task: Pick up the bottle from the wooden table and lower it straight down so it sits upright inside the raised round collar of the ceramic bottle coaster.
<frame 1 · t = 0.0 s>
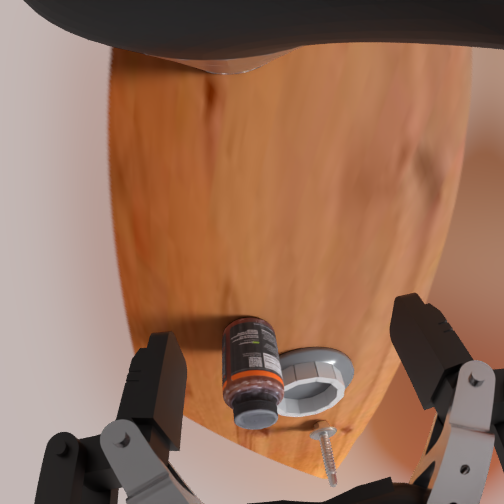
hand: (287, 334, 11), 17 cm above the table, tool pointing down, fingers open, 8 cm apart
supplement bottle: (248, 332, 35), on the table
screw: (321, 422, 49), on the table
bottle coaster: (303, 379, 40), on the table
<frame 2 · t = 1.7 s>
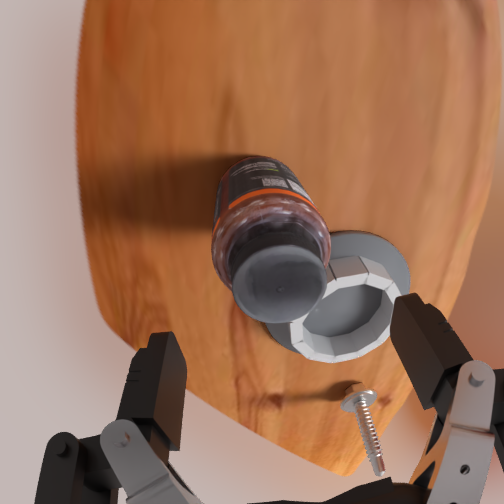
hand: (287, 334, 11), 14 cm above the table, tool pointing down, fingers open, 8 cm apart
supplement bottle: (258, 192, 23), on the table
screw: (354, 387, 36), on the table
bottle coaster: (339, 299, 28), on the table
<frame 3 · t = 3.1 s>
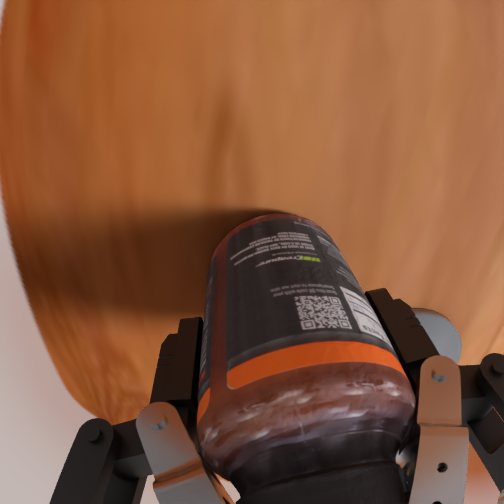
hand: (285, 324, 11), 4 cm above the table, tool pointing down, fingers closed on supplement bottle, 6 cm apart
supplement bottle: (274, 266, 14), on the table, touching gripper
bottle coaster: (372, 383, 20), on the table
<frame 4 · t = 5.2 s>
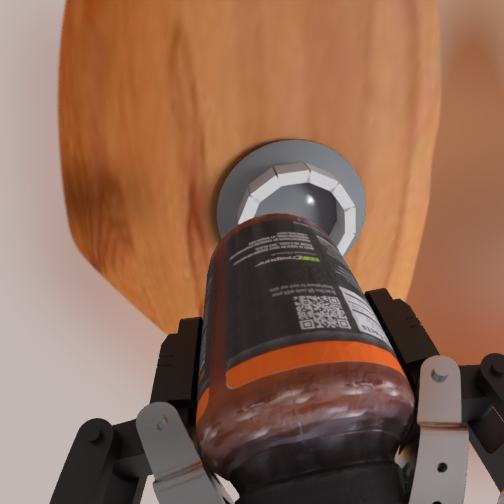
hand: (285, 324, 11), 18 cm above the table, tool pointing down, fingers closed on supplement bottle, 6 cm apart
supplement bottle: (274, 266, 14), point 14 cm above the table, touching gripper
bottle coaster: (292, 213, 29), on the table
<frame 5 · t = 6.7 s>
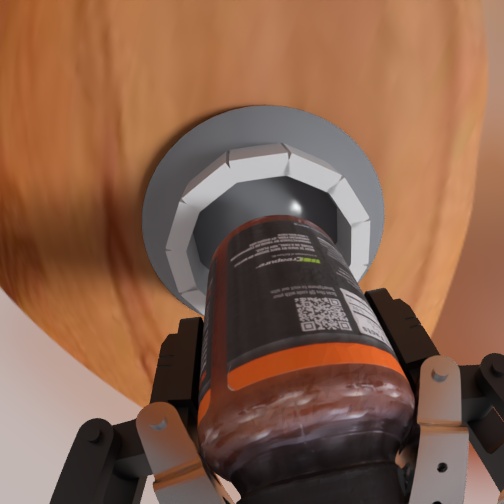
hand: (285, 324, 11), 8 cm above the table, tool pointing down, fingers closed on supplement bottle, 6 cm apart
supplement bottle: (274, 267, 14), point 4 cm above the table, touching gripper
bottle coaster: (265, 228, 18), on the table
when the fingers open (6 cm above the table, at t = 7.6 s): supplement bottle drops 1 cm, resting on bottle coaster.
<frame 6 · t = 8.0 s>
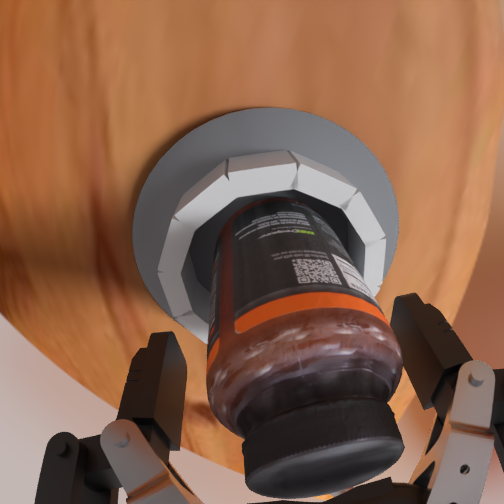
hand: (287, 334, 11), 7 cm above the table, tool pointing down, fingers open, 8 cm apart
supplement bottle: (274, 247, 16), point 1 cm above the table, touching bottle coaster
bottle coaster: (269, 244, 16), on the table
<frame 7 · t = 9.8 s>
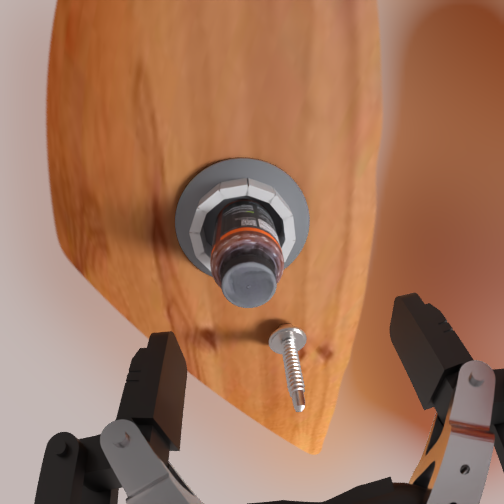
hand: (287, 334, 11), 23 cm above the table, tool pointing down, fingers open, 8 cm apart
supplement bottle: (244, 223, 32), point 1 cm above the table, touching bottle coaster
screw: (285, 329, 41), on the table
bottle coaster: (242, 223, 33), on the table
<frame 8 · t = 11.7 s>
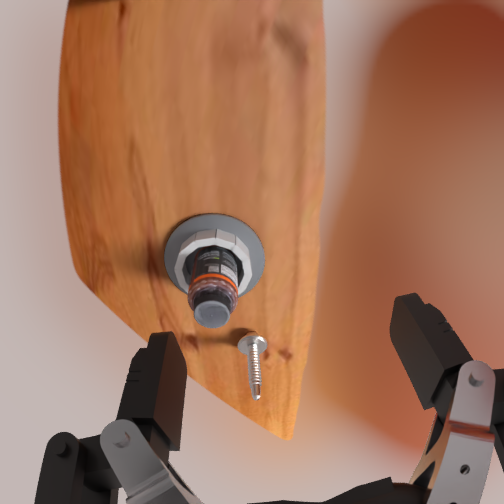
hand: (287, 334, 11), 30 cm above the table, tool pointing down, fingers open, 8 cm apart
supplement bottle: (215, 260, 43), point 1 cm above the table, touching bottle coaster
screw: (251, 336, 52), on the table
bottle coaster: (214, 259, 44), on the table
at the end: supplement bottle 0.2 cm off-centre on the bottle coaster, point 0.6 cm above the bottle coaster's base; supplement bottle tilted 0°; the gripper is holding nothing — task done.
